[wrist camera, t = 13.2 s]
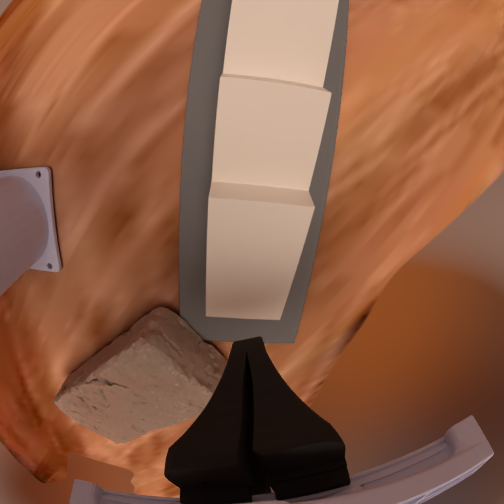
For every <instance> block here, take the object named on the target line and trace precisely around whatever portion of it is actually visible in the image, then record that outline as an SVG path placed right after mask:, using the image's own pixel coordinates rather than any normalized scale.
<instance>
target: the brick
mask: <svg viewBox="0 0 504 504" xmlns="http://www.w3.org/2000/svg"><path fill="white" fill-rule="evenodd" d="M226 364H227V362H226V361H225V358H224V357H223V356H222V355H221V354H220V353H219V352H218V351H217V350H216V349H215V348H214V347H213V346H212V345H211V344H208V343H205V342H204V341H203V340H202V339H201V337H200V336H199V335H197V333H196V332H195V331H194V330H192V329H191V328H190V327H189V325H188V324H187V322H186V321H185V320H183V319H182V318H181V317H180V316H178V315H177V314H176V313H174V312H172V311H171V310H169V309H167V308H163V307H158V308H156V309H153V310H152V311H151V312H150V313H149V314H147V315H144V316H143V317H142V318H140V319H139V320H138V321H137V322H136V323H135V324H134V325H133V326H132V327H131V328H130V330H129V331H128V332H125V333H124V334H122V335H120V336H118V337H117V338H115V339H114V340H113V342H112V343H111V344H110V345H108V346H106V347H104V348H103V349H102V350H101V351H99V352H98V353H96V354H95V355H94V356H93V357H91V358H90V359H89V360H87V361H86V362H85V363H84V364H82V365H81V366H80V367H79V368H78V369H77V370H76V371H74V372H73V373H71V374H70V375H69V376H68V377H67V379H66V380H65V381H64V383H63V385H62V387H61V389H60V390H59V392H58V394H57V395H56V396H55V400H54V403H55V404H56V406H57V407H58V408H59V409H60V410H61V411H62V412H64V413H65V414H67V415H68V417H70V418H72V419H73V420H75V421H77V422H78V423H80V424H82V425H84V426H85V427H87V428H88V429H90V430H92V431H95V432H96V433H98V434H100V435H101V436H104V437H107V438H108V439H110V440H112V441H114V442H115V443H116V444H118V443H126V442H129V441H131V440H134V439H136V438H138V437H140V436H141V435H145V434H147V433H148V432H149V431H150V430H151V431H155V430H158V429H161V428H165V427H169V426H172V425H173V424H178V423H181V422H184V421H186V420H191V419H193V418H195V417H197V416H198V415H199V414H201V412H202V411H203V410H204V408H205V407H206V405H207V403H208V402H209V400H210V399H211V397H212V395H213V393H214V391H215V389H216V387H217V385H218V383H219V381H220V379H221V377H222V374H223V372H224V369H225V367H226Z"/></svg>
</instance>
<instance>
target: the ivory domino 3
mask: <svg viewBox="0 0 504 504" xmlns="http://www.w3.org/2000/svg"><path fill="white" fill-rule="evenodd" d="M314 209H315V206H314V203H313V201H312V198H311V196H310V193H309V191H306V190H298V189H289V188H280V187H271V186H261V185H250V184H239V183H227V182H213V181H212V182H211V187H210V192H209V198H208V222H207V255H206V316H208V317H224V318H241V319H264V320H280V318H281V315H282V312H283V309H284V306H285V303H286V300H287V297H288V294H289V291H290V288H291V285H292V282H293V278H294V275H295V272H296V269H297V266H298V263H299V259H300V256H301V253H302V250H303V246H304V243H305V240H306V236H307V233H308V229H309V226H310V223H311V219H312V216H313V212H314Z"/></svg>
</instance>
